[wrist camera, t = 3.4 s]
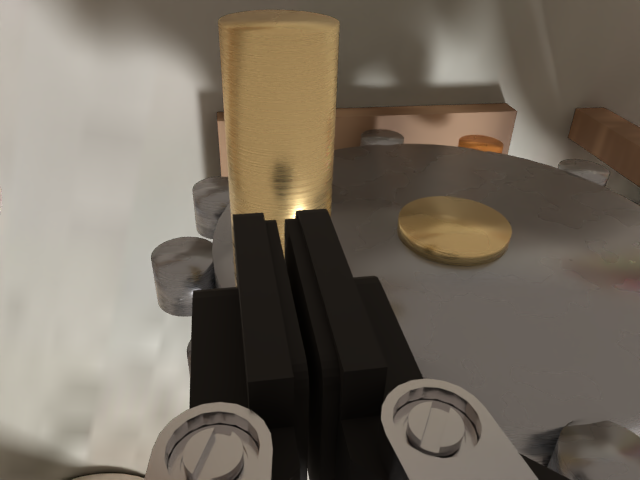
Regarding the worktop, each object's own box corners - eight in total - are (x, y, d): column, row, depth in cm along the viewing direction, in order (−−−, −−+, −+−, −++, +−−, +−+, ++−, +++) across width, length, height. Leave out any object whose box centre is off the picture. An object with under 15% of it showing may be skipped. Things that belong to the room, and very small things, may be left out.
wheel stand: (225, 230, 37) (237, 412, 24) (216, 112, 32) (225, 257, 20) (572, 207, 41) (739, 353, 28) (606, 100, 36) (819, 214, 24)
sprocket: (171, 170, 31) (121, 636, 12) (144, -50, 26) (-41, 161, 6) (554, 152, 35) (989, 484, 16) (607, -43, 29) (1402, 100, 10)
